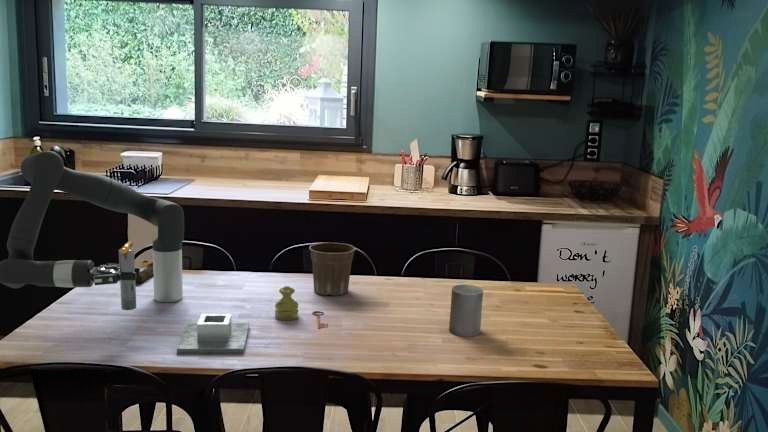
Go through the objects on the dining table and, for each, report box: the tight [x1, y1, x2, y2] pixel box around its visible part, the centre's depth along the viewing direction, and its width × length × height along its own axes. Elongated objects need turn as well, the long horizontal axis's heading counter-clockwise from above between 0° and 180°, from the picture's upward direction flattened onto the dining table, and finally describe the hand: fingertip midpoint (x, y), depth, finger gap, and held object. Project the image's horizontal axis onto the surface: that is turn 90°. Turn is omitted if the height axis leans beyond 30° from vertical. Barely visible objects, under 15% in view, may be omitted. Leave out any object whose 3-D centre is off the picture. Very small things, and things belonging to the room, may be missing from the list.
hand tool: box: [135, 261, 154, 285], centre depth 268 cm, size 19×4×5 cm, turn 169°
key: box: [311, 310, 329, 330], centre depth 231 cm, size 6×1×15 cm
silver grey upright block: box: [118, 241, 137, 311], centre depth 205 cm, size 9×4×18 cm, turn 6°
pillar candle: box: [448, 284, 484, 338], centre depth 224 cm, size 10×10×15 cm
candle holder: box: [176, 313, 250, 355], centre depth 210 cm, size 20×18×6 cm
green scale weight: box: [274, 285, 299, 321], centre depth 232 cm, size 7×7×10 cm
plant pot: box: [308, 242, 356, 297], centre depth 259 cm, size 16×16×16 cm
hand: (137, 273), depth 205 cm, fingers closed on silver grey upright block, 4 cm apart
